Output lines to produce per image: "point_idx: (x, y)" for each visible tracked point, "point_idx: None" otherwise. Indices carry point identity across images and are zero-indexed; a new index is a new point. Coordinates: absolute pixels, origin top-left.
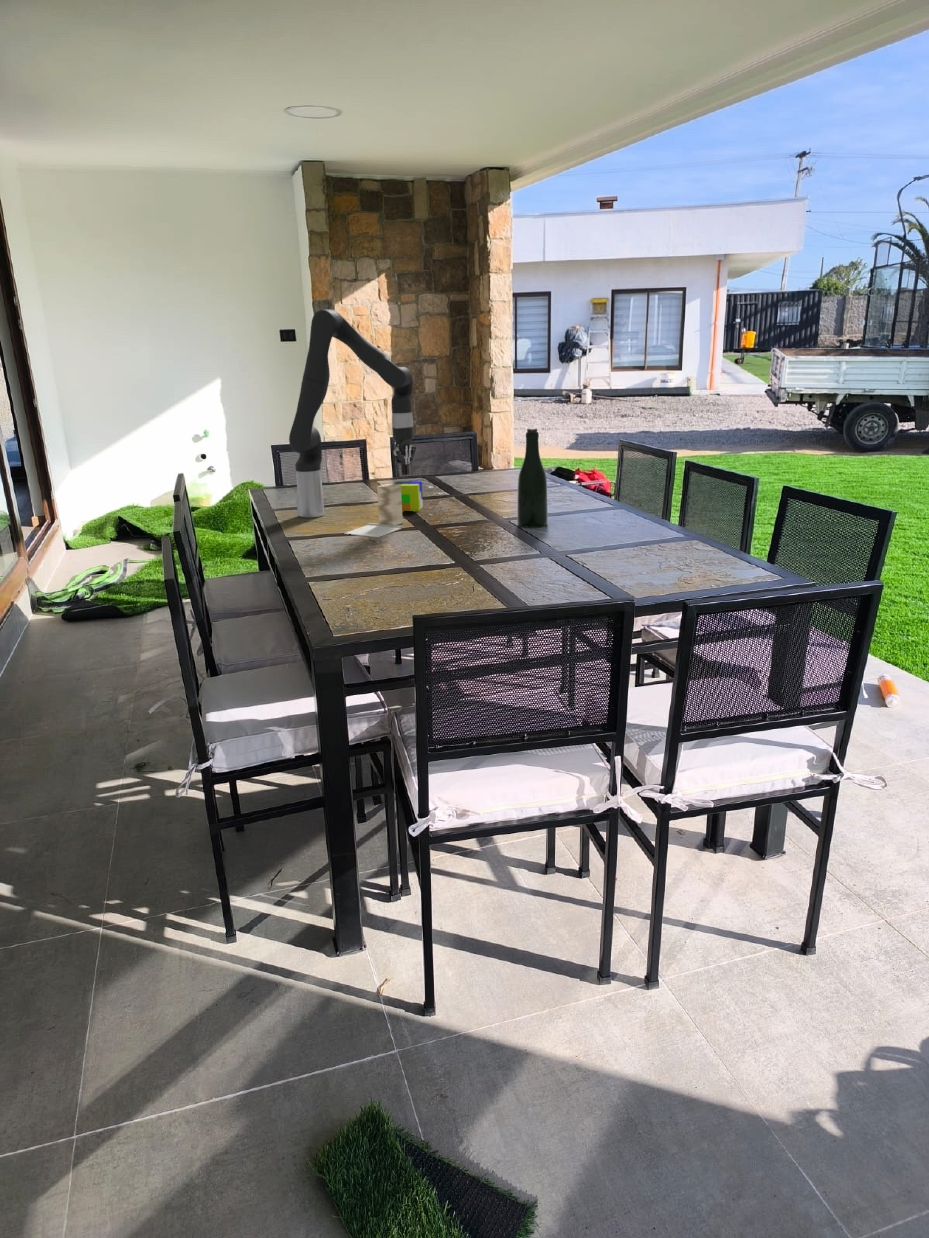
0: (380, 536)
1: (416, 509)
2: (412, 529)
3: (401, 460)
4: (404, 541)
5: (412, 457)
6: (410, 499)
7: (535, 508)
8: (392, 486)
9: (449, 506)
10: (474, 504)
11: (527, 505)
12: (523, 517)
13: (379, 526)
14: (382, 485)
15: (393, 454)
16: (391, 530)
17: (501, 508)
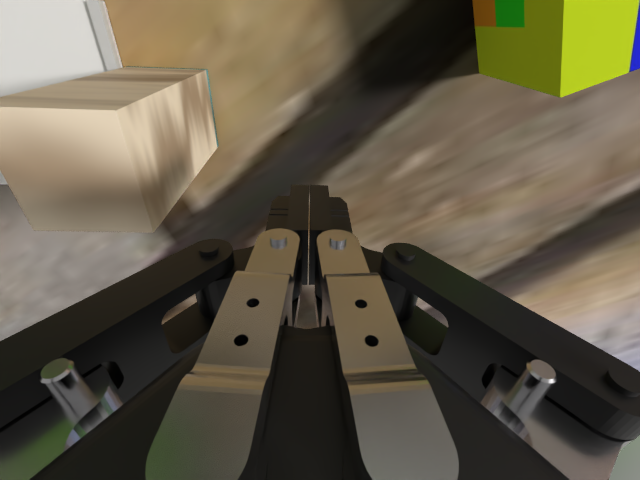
0: (4, 183)
1: (482, 61)
2: (165, 223)
3: (171, 331)
4: (32, 275)
5: (421, 336)
6: (507, 31)
7: None
8: (69, 215)
9: (593, 153)
10: (621, 223)
11: None
12: None
13: None
14: (38, 120)
15: (4, 356)
16: None
17: (535, 312)
